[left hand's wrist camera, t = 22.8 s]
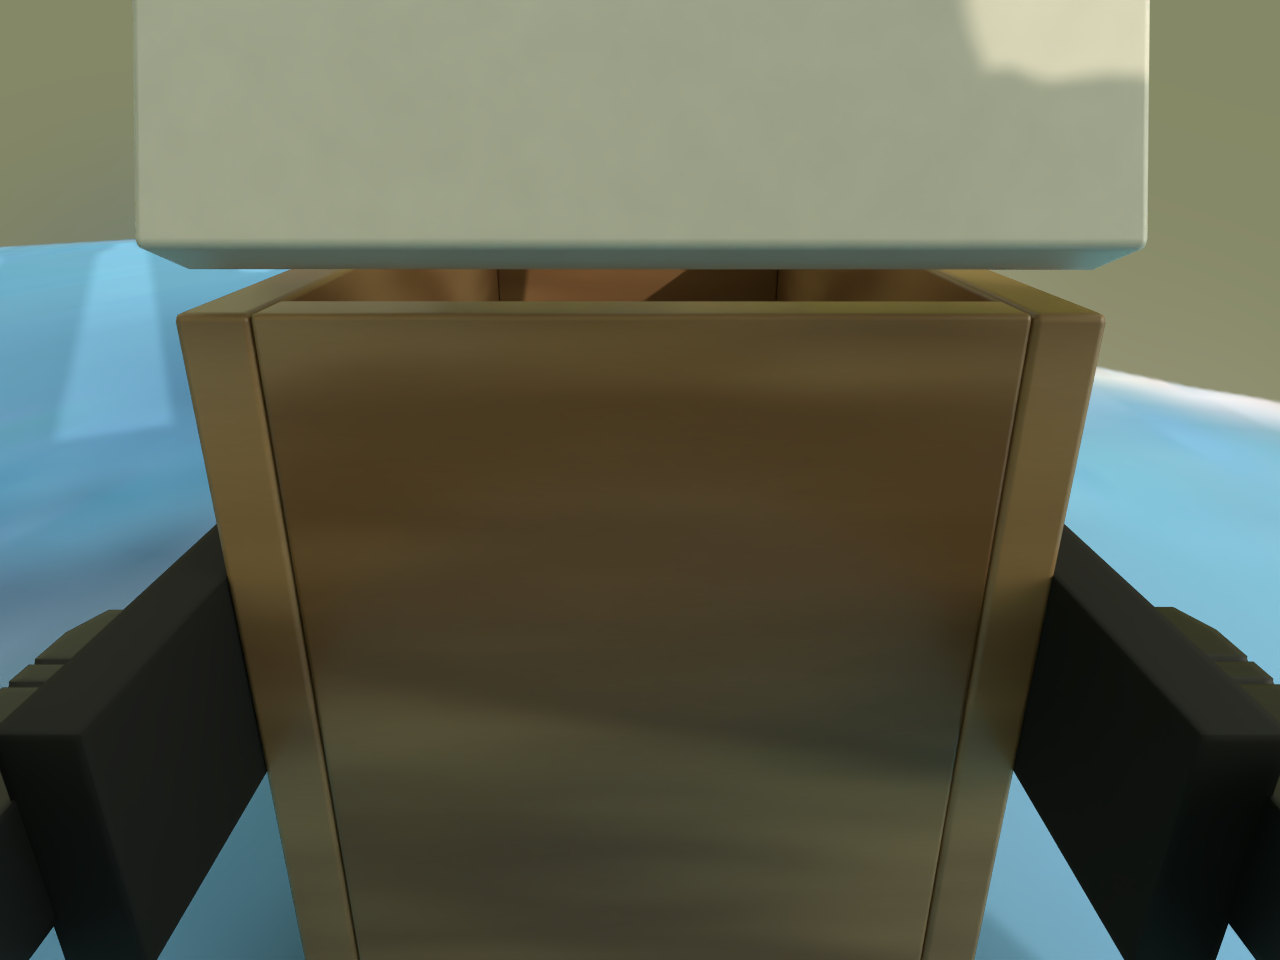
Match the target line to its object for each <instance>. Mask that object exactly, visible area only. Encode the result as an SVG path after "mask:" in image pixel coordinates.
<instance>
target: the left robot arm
mask: <svg viewBox="0 0 1280 960" xmlns="http://www.w3.org/2000/svg"><path fill="white" fill-rule="evenodd" d="M1013 771H1014V772H1015V774H1016V776H1017V778H1018V779H1019V781H1020V783H1021V784H1022V786H1023V788H1024V789H1025V791H1026V793H1027V795H1028V796H1029V798H1030V800H1031V801H1032V803H1033V805H1034V807H1035V808H1036V810H1037V812H1038V813H1039V815H1040V817H1041V819H1042V820H1043V822H1044V824H1045V825H1046V827H1047V829H1048V830H1049V832H1050V834H1051V836H1052V837H1053V839H1054V841H1055V842H1056V844H1057V846H1058V848H1059V849H1060V851H1061V853H1062V854H1063V856H1064V858H1065V859H1066V861H1067V863H1068V865H1069V866H1070V868H1071V870H1072V871H1073V873H1074V875H1075V877H1076V878H1077V880H1078V882H1079V883H1080V885H1081V887H1082V889H1083V890H1084V892H1085V894H1086V895H1087V897H1088V899H1089V900H1090V902H1091V904H1092V906H1093V907H1094V909H1095V911H1096V912H1097V914H1098V916H1099V918H1100V919H1101V921H1102V923H1103V924H1104V926H1105V928H1106V929H1107V931H1108V933H1109V935H1110V936H1111V938H1112V940H1113V941H1114V943H1115V945H1116V947H1117V948H1118V950H1119V952H1120V953H1121V955H1122V957H1123V959H1124V960H1216V958H1217V955H1218V952H1219V949H1220V946H1221V943H1222V940H1223V937H1224V935H1225V932H1226V929H1227V926H1228V923H1229V924H1230V926H1231V927H1232V928H1233V930H1234V931H1235V932H1236V934H1237V935H1238V936H1239V938H1240V939H1241V941H1242V942H1243V943H1244V945H1245V946H1246V947H1247V949H1248V950H1249V951H1250V953H1251V954H1252V955H1253V957H1254V958H1255V959H1256V960H1280V684H1274V683H1273V678H1272V677H1271V676H1270V675H1268V674H1267V673H1266V672H1265V671H1264V670H1263V669H1261V668H1260V667H1259V666H1258V665H1257V664H1256V663H1254V662H1248V660H1247V656H1246V655H1245V654H1244V653H1243V652H1242V651H1240V650H1239V649H1238V648H1237V647H1236V646H1235V645H1233V644H1232V643H1231V642H1230V641H1229V640H1228V639H1227V638H1225V637H1224V636H1223V635H1222V634H1221V633H1220V632H1218V631H1217V630H1216V629H1214V628H1212V627H1210V626H1208V625H1206V624H1204V623H1203V622H1201V621H1199V620H1197V619H1195V618H1193V617H1191V616H1189V615H1187V614H1185V613H1183V612H1182V611H1180V610H1178V609H1176V608H1174V607H1154V606H1153V605H1152V604H1151V603H1150V602H1148V601H1147V600H1146V599H1145V598H1144V597H1143V596H1142V595H1141V594H1140V593H1139V592H1138V591H1137V590H1135V589H1134V588H1133V587H1132V586H1131V585H1130V584H1129V583H1128V582H1127V581H1126V580H1125V579H1123V578H1122V577H1121V576H1120V575H1119V574H1118V573H1117V572H1116V571H1115V570H1114V569H1113V568H1112V567H1110V566H1109V565H1108V564H1107V563H1106V562H1105V561H1104V560H1103V559H1102V558H1101V557H1100V556H1098V555H1097V554H1096V553H1095V552H1094V551H1093V550H1092V549H1091V548H1090V547H1089V546H1088V545H1087V544H1085V543H1084V542H1083V541H1082V540H1081V539H1080V538H1079V537H1078V536H1077V535H1076V534H1075V533H1073V532H1072V531H1071V530H1070V529H1069V528H1068V527H1067V526H1066V525H1065V524H1064V526H1063V531H1062V536H1061V541H1060V546H1059V550H1058V555H1057V560H1056V565H1055V570H1054V575H1053V578H1052V582H1051V587H1050V592H1049V597H1048V602H1047V607H1046V612H1045V617H1044V621H1043V626H1042V631H1041V636H1040V641H1039V646H1038V651H1037V656H1036V661H1035V665H1034V670H1033V675H1032V680H1031V685H1030V690H1029V695H1028V700H1027V705H1026V709H1025V714H1024V719H1023V724H1022V729H1021V734H1020V739H1019V744H1018V749H1017V753H1016V758H1015V763H1014V768H1013ZM266 772H267V769H266V764H265V759H264V754H263V749H262V744H261V739H260V734H259V729H258V724H257V719H256V714H255V709H254V704H253V699H252V695H251V690H250V685H249V680H248V675H247V670H246V665H245V660H244V655H243V650H242V645H241V640H240V635H239V630H238V625H237V620H236V616H235V611H234V606H233V601H232V596H231V591H230V586H229V581H228V576H227V571H226V566H225V561H224V556H223V551H222V546H221V542H220V537H219V532H218V527H217V524H216V525H215V526H214V527H213V528H212V529H211V530H210V531H209V532H208V533H206V534H205V535H204V536H203V537H202V538H201V539H200V540H199V541H198V542H197V543H196V544H194V545H193V546H192V547H191V548H190V549H189V550H188V551H187V552H186V553H185V554H184V555H183V556H181V557H180V558H179V559H178V560H177V561H176V562H175V563H174V564H173V565H172V566H171V567H169V568H168V569H167V570H166V571H165V572H164V573H163V574H162V575H161V576H160V577H159V578H158V579H156V580H155V581H154V582H153V583H152V584H151V585H150V586H149V587H148V588H147V589H146V590H144V591H143V592H142V593H141V594H140V595H139V596H138V597H137V598H136V599H135V600H134V601H133V602H131V603H130V604H129V605H128V606H127V607H126V608H125V609H124V610H108V611H106V612H104V613H102V614H100V615H98V616H96V617H94V618H93V619H91V620H89V621H87V622H85V623H83V624H81V625H79V626H77V627H75V628H74V629H72V630H70V631H68V632H66V633H65V634H64V635H62V636H61V637H60V638H59V639H58V640H57V641H55V642H54V643H53V644H52V645H51V646H50V647H49V648H47V649H46V650H45V651H44V652H43V653H42V654H41V655H39V656H38V657H37V658H36V659H35V664H34V665H28V666H27V667H26V668H24V669H23V670H22V671H21V672H20V673H19V674H17V675H16V676H15V677H14V678H13V679H12V680H11V681H9V687H8V688H1V689H0V960H29V959H30V958H31V956H32V955H33V954H34V952H35V951H36V950H37V948H38V947H39V945H40V944H41V943H42V941H43V940H44V939H45V937H46V936H47V935H48V933H49V932H50V931H51V929H52V928H53V927H54V928H55V931H56V934H57V937H58V939H59V942H60V945H61V948H62V951H63V954H64V957H65V960H157V958H158V957H159V955H160V953H161V952H162V950H163V948H164V947H165V945H166V943H167V941H168V940H169V938H170V936H171V935H172V933H173V931H174V929H175V928H176V926H177V924H178V923H179V921H180V919H181V917H182V916H183V914H184V912H185V911H186V909H187V907H188V906H189V904H190V902H191V900H192V899H193V897H194V895H195V894H196V892H197V890H198V888H199V887H200V885H201V883H202V882H203V880H204V878H205V876H206V875H207V873H208V871H209V870H210V868H211V866H212V865H213V863H214V861H215V859H216V858H217V856H218V854H219V853H220V851H221V849H222V847H223V846H224V844H225V842H226V841H227V839H228V837H229V835H230V834H231V832H232V830H233V829H234V827H235V825H236V823H237V822H238V820H239V818H240V817H241V815H242V813H243V812H244V810H245V808H246V806H247V805H248V803H249V801H250V800H251V798H252V796H253V794H254V793H255V791H256V789H257V788H258V786H259V784H260V782H261V781H262V779H263V777H264V776H265V774H266Z"/></svg>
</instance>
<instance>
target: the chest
mask: <svg viewBox="0 0 1280 960" xmlns="http://www.w3.org/2000/svg"><path fill="white" fill-rule="evenodd" d="M176 324H177V329H178V334H179V339H180V344H181V349H182V354H183V359H184V364H185V369H186V374H187V379H188V384H189V389H190V393H191V398H192V403H193V408H194V413H195V418H196V423H197V428H198V433H199V438H200V443H201V448H202V453H203V458H204V463H205V467H206V472H207V477H208V482H209V487H210V492H211V497H212V502H213V507H214V512H215V517H216V522H217V527H218V532H219V537H220V542H221V546H222V551H223V556H224V561H225V566H226V571H227V576H228V581H229V586H230V591H231V596H232V601H233V606H234V611H235V616H236V620H237V625H238V630H239V635H240V640H241V645H242V650H243V655H244V660H245V665H246V670H247V675H248V680H249V685H250V690H251V695H252V699H253V704H254V709H255V714H256V719H257V724H258V729H259V734H260V739H261V744H262V749H263V754H264V759H265V764H266V769H267V774H268V778H269V783H270V788H271V793H272V798H273V803H274V808H275V813H276V818H277V823H278V828H279V833H280V838H281V843H282V848H283V852H284V857H285V862H286V867H287V872H288V877H289V882H290V887H291V892H292V897H293V902H294V907H295V912H296V917H297V922H298V926H299V931H300V936H301V941H302V946H303V951H304V956H305V960H974V958H975V953H976V949H977V944H978V939H979V934H980V929H981V924H982V919H983V915H984V910H985V905H986V900H987V895H988V890H989V885H990V881H991V876H992V871H993V866H994V861H995V856H996V851H997V847H998V842H999V837H1000V832H1001V827H1002V822H1003V817H1004V813H1005V808H1006V803H1007V798H1008V793H1009V788H1010V784H1011V779H1012V774H1013V768H1014V763H1015V758H1016V753H1017V749H1018V744H1019V739H1020V734H1021V729H1022V724H1023V719H1024V714H1025V709H1026V705H1027V700H1028V695H1029V690H1030V685H1031V680H1032V675H1033V670H1034V665H1035V661H1036V656H1037V651H1038V646H1039V641H1040V636H1041V631H1042V626H1043V621H1044V617H1045V612H1046V607H1047V602H1048V597H1049V592H1050V587H1051V582H1052V578H1053V575H1054V570H1055V565H1056V560H1057V555H1058V550H1059V546H1060V541H1061V536H1062V531H1063V526H1064V521H1065V516H1066V512H1067V507H1068V502H1069V497H1070V492H1071V487H1072V482H1073V478H1074V473H1075V468H1076V463H1077V458H1078V453H1079V448H1080V444H1081V439H1082V434H1083V429H1084V424H1085V419H1086V415H1087V410H1088V405H1089V400H1090V395H1091V390H1092V385H1093V381H1094V376H1095V371H1096V366H1097V361H1098V356H1099V351H1100V347H1101V342H1102V337H1103V332H1104V327H1105V318H1104V316H1103V315H1101V314H1099V313H1097V312H1095V311H1092V310H1089V309H1087V308H1084V307H1082V306H1079V305H1077V304H1074V303H1072V302H1069V301H1066V300H1064V299H1061V298H1059V297H1056V296H1054V295H1051V294H1049V293H1046V292H1043V291H1041V290H1038V289H1036V288H1033V287H1031V286H1028V285H1025V284H1023V283H1020V282H1018V281H1015V280H1013V279H1010V278H1008V277H1005V276H1002V275H1000V274H997V273H995V272H992V271H990V270H973V269H291V270H288V271H286V272H283V273H281V274H278V275H276V276H273V277H271V278H268V279H266V280H263V281H261V282H258V283H256V284H253V285H251V286H248V287H246V288H243V289H241V290H238V291H236V292H233V293H231V294H228V295H226V296H223V297H221V298H218V299H216V300H213V301H211V302H208V303H206V304H203V305H201V306H198V307H196V308H193V309H191V310H188V311H186V312H183V313H181V314H179V315H178V316H177V319H176Z"/></svg>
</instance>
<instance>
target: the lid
mask: <svg viewBox="0 0 1280 960" xmlns="http://www.w3.org/2000/svg"><path fill="white" fill-rule="evenodd" d="M1149 11H1150V0H133V71H134V162H135V239H136V242H137V245H138V246H139V247H140V248H142V249H144V250H147V251H149V252H151V253H154V254H156V255H158V256H160V257H163V258H165V259H167V260H170V261H172V262H174V263H176V264H179V265H181V266H183V267H186V268H188V269H973V270H989V269H992V270H993V269H994V270H997V269H998V270H999V269H1001V270H1005V269H1006V270H1007V269H1008V270H1019V269H1020V270H1092V269H1095V268H1097V267H1100V266H1102V265H1104V264H1107V263H1109V262H1112V261H1114V260H1116V259H1119V258H1121V257H1123V256H1126V255H1128V254H1130V253H1132V252H1135V251H1137V250H1140V249H1142V248H1143V247H1144V246H1145V244H1146V241H1147V214H1148V112H1149Z"/></svg>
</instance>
